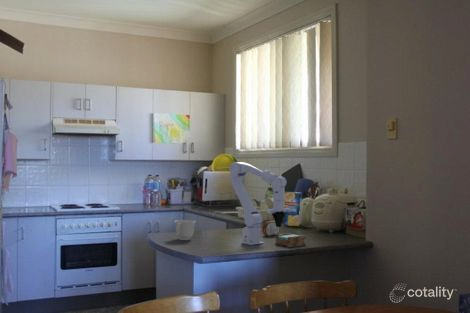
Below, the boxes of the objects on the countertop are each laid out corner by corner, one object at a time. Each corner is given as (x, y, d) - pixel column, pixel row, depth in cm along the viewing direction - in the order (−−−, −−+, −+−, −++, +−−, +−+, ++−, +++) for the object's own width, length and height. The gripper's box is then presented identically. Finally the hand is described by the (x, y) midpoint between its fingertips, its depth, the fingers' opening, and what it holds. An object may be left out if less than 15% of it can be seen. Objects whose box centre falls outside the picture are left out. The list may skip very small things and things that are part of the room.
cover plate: (288, 240, 260) (288, 238, 260) (277, 238, 266) (277, 236, 266) (303, 238, 267) (303, 236, 267) (292, 236, 273) (292, 234, 273)
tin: (276, 233, 306) (276, 219, 306) (281, 234, 304) (281, 219, 304) (261, 236, 294) (261, 221, 294) (266, 236, 292) (266, 222, 292)
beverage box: (299, 226, 340) (300, 193, 341) (283, 225, 344) (284, 192, 344) (301, 224, 347) (302, 192, 347) (285, 224, 351) (286, 191, 351)
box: (288, 247, 259) (288, 237, 259) (274, 244, 266) (275, 234, 266) (305, 244, 266) (305, 235, 266) (291, 242, 274) (291, 232, 274)
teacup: (167, 241, 272) (167, 222, 272) (179, 237, 286) (180, 219, 286) (187, 242, 268) (188, 223, 268) (199, 238, 282) (199, 220, 282)
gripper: (273, 201, 253) (273, 228, 253) (294, 200, 262) (294, 226, 262) (264, 200, 259) (263, 227, 259) (284, 199, 268) (284, 225, 268)
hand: (278, 226), depth 261 cm, fingers closed
